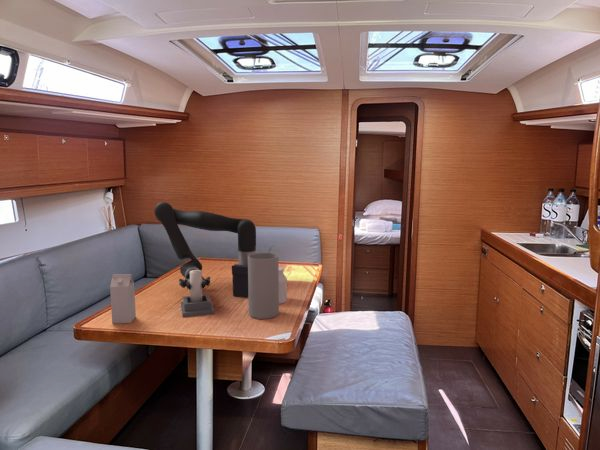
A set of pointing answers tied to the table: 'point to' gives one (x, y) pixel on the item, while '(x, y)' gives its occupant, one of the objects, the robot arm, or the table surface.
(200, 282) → the paper roll
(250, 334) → the table surface
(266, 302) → the cylinder vase
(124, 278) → the milk carton
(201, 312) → the roll holder
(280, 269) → the jar
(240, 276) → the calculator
